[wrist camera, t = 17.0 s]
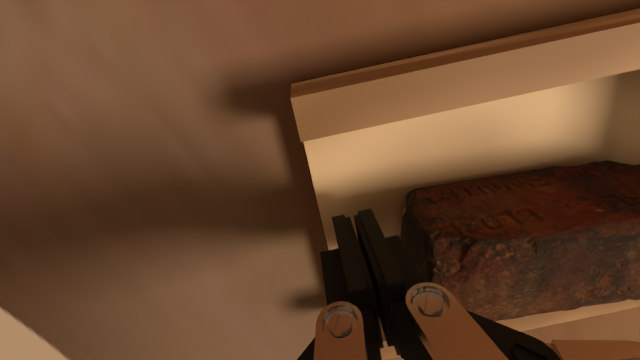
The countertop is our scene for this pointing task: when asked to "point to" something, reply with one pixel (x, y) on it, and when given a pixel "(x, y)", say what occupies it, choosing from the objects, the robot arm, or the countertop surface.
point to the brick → (530, 238)
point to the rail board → (473, 123)
